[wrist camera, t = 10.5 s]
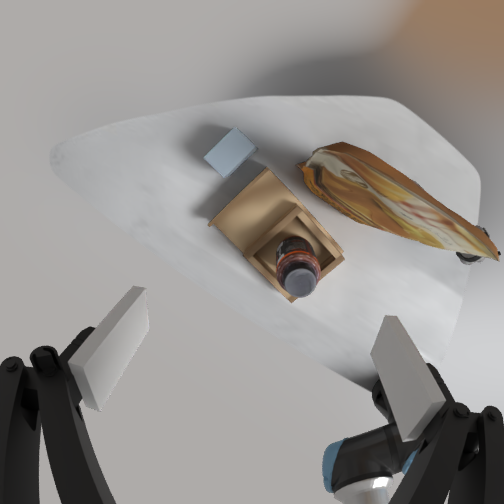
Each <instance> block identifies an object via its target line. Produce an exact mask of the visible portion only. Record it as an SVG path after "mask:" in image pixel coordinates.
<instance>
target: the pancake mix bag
mask: <svg viewBox="0 0 504 504" xmlns="http://www.w3.org/2000/svg"><path fill="white" fill-rule="evenodd" d="M296 166H298V167H299V168H300V169H301V170H302V171H303V173H304V182H305V184H306V185H307V186H308V187H309V189H310V190H311V191H312V192H313V193H314V194H316V195H317V196H318V197H320V198H321V199H323V200H324V201H326V202H327V203H328V204H330V205H331V206H333V207H334V208H336V209H337V210H338V211H340V212H342V213H343V214H345V215H346V216H348V217H349V218H351V219H352V220H354V221H356V222H358V223H361V224H365V225H368V226H372V227H375V228H378V229H381V230H383V231H387V232H390V233H393V234H396V235H399V236H401V237H404V238H407V239H411V240H416V241H419V242H421V243H423V244H425V245H429V246H432V247H436V248H440V249H444V250H450V251H456V252H460V253H466V254H473V255H477V256H481V257H486V258H492V259H494V260H497V261H499V256H498V251H497V248H496V246H495V245H494V244H493V242H492V241H491V240H490V239H489V238H488V237H487V235H486V234H485V233H484V232H483V231H482V230H480V229H479V228H477V227H475V226H474V225H472V224H471V223H469V222H468V221H467V220H465V219H464V218H462V217H461V216H460V215H458V214H456V213H455V212H453V211H452V210H450V209H448V208H447V207H446V206H444V205H443V204H441V203H440V202H439V201H437V200H436V199H435V198H433V197H432V196H431V195H430V194H428V193H427V192H426V191H424V190H423V189H422V188H421V187H419V186H418V185H417V184H416V183H414V182H413V181H412V180H411V179H409V178H408V177H407V176H405V175H404V174H402V173H401V172H399V171H398V170H396V169H395V168H393V167H392V166H390V165H389V164H387V163H386V162H384V161H383V160H381V159H380V158H378V157H377V156H375V155H373V154H372V153H370V152H368V151H366V150H363V149H361V148H358V147H356V146H353V145H350V144H348V143H345V142H339V143H335V144H331V145H328V146H324V147H320V148H317V149H316V150H315V151H313V156H312V157H310V158H309V159H308V160H307V162H303V163H299V164H296Z"/></svg>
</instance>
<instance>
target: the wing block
mask: <svg viewBox="0 0 504 504" xmlns="http://www.w3.org/2000/svg"><path fill="white" fill-rule="evenodd" d="M257 149H258V148H257V147H256V146H255V145H254V144H253V143H252V142H251V141H250V140H249V139H248V138H247V137H246V136H245V135H244V134H243V133H242V132H241V131H240V130H238V129H237V128H236V127H234V128H233V129H232V130H231V131H230V132H229V133H227V134H226V135H225V136H224V137H223V138H222V139H221V140H220V141H219V142H218V143H217V144H216V145H215V146H214V147H213V148H212V149H211V150H210V151H209V152H208V153H207V155H206V156H205V157H204V159H205V160H206V161H207V162H208V163H209V164H210V165H211V166H212V167H213V168H214V169H215V170H216V171H217V172H218V173H219V174H220V175H221V176H222V177H223V178H225V177H227V176H230V175H231V174H232V173H233V172H234V171H235V170H236V169H237V168H238V167H239V166H240V165H241V164H242V163H243V162H244V161H246V160H247V159H248V158H249V157H250V156H251V155H252V154H253V153H254V152H255V151H256V150H257Z"/></svg>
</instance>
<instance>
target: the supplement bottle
mask: <svg viewBox="0 0 504 504" xmlns="http://www.w3.org/2000/svg"><path fill="white" fill-rule="evenodd" d="M320 275H321V270H320V265H319V262H318V260H317V257H316V255H315V252H314V250H313V247H312V245H311V244H310V243H309V241H308V240H306V239H305V238H303V237H300V236H290V237H287V238H285V239H284V240H283V241H282V242H281V243H280V244H279V245H278V248H277V251H276V276H277V280H278V283H279V285H280V286H281V287H282V288H283V289H284V290H285V291H287V292H288V293H289V294H290V295H292V296H294V297H299V298H301V297H305V296H308V295H309V294H311V293H312V292H313V291H314V289H315V287H316V285H317V284H318V282H319V280H320Z"/></svg>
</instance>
